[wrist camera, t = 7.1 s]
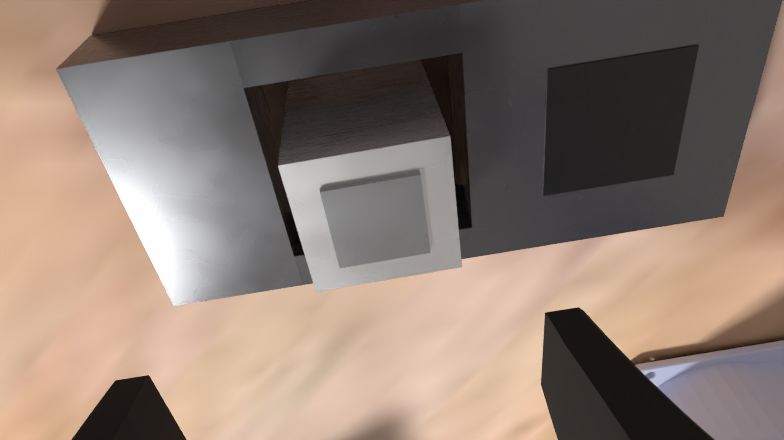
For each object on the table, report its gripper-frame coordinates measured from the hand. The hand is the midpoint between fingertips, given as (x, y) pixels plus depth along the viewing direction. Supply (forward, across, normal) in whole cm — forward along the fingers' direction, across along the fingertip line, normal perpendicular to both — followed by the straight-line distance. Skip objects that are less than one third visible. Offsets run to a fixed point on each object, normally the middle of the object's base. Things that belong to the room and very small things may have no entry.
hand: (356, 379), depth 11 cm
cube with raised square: (+10, -1, 0) cm, 10 cm away
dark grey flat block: (+10, -3, 0) cm, 10 cm away
